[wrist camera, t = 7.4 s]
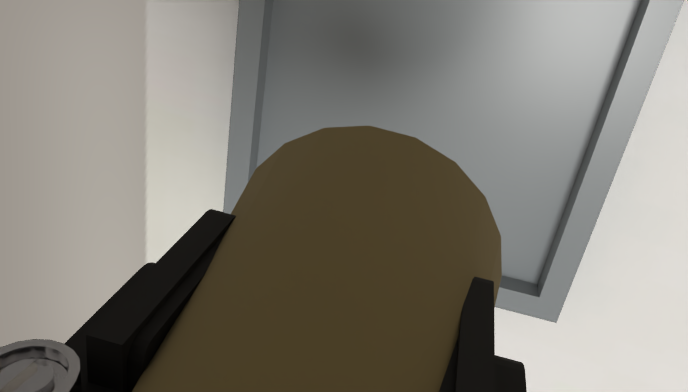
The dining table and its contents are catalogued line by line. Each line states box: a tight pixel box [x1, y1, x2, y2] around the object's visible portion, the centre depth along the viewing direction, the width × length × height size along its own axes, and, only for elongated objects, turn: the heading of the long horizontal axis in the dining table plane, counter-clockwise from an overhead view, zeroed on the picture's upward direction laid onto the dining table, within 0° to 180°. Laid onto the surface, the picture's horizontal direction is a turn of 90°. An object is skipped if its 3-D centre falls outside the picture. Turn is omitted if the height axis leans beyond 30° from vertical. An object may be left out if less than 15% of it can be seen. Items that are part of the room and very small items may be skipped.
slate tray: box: [223, 0, 684, 323], centre depth 28 cm, size 20×18×2 cm
